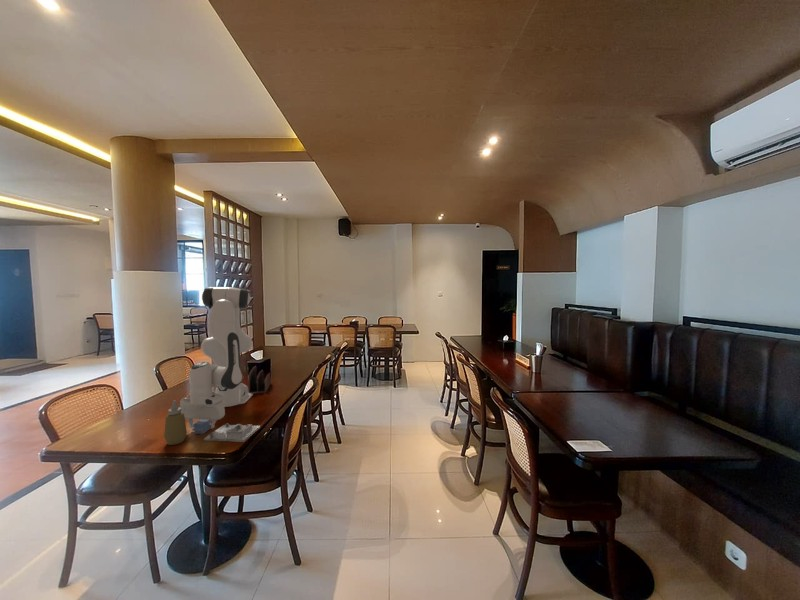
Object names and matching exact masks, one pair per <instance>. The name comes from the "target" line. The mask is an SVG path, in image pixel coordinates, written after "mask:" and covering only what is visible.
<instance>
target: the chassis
mask: <svg viewBox="0 0 800 600" xmlns="http://www.w3.org/2000/svg"><path fill="white" fill-rule="evenodd" d="M260 429H261V425H253V424H250V423H249V424H246V425H245V424H244V425H243V424H242V423H237V424H229V423H228V422H227V423H225V424H223V425H221V426H220V427H218V428H217V429H215V430H214V431H212V432H210V434H208V435H207V436H205V437H204V438H203V441H209V442H211V441H212V442H235V443H236V442H237V443H239V442H240V443H244V442H246V441H247V440H248V439H250V437H252V435H254V434H255V433H256V432H257V431H258V430H260Z"/></svg>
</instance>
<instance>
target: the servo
mask: <svg viewBox="0 0 800 600" xmlns="http://www.w3.org/2000/svg"><path fill="white" fill-rule="evenodd" d="M194 423H195V424H194V428H191V429H192V431H193V432H194V434H197V435H198V434H200V435H203V434H205V433H206V432H208V431H209V430H211V429H210V428H209V425H210V424H212V422H211V419H199V420H198V421H196V422H194Z"/></svg>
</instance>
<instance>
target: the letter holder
mask: <svg viewBox="0 0 800 600" xmlns="http://www.w3.org/2000/svg"><path fill="white" fill-rule="evenodd" d="M257 372H258V371H257V366H256V365H255V366H253V367H252V368H251V370H250V371H249V373H248V393H252V394H253V395H256V393H257V394H265V393H267V391H269V388H270V386H271V384H272V380H271V372H269V373H267V375H266V376H265V378H264V370H263V369H261V370H260V371H259V372H258V374H257Z"/></svg>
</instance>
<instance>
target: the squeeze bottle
mask: <svg viewBox="0 0 800 600" xmlns="http://www.w3.org/2000/svg"><path fill="white" fill-rule="evenodd" d="M167 413H168V414H167V415H166V416H165V422H164V431H163V432H164V434H163V437H164V440H165V441H166V445H168V446H173V445H179V444H181V443H183V442H184V441H185V439H186V436H187V433H188V431H187V424H186V419H185V417H184V413H182V412H181V408H180V406H178V403H177V400H172V403H171V408H169V409H168V410H167Z"/></svg>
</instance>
